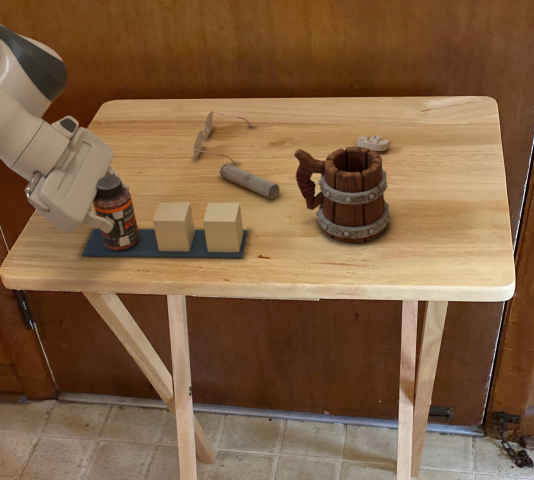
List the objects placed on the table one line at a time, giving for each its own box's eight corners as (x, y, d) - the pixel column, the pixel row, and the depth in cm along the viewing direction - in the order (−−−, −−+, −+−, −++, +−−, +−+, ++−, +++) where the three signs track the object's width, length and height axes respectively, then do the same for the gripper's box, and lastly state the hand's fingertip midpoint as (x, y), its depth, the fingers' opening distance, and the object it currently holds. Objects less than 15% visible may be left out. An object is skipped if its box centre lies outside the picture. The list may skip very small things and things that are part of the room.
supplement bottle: (137, 251, 130) (123, 192, 122) (100, 253, 130) (84, 193, 123) (143, 229, 134) (130, 170, 127) (107, 230, 135) (92, 172, 127)
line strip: (82, 256, 131) (81, 254, 131) (94, 230, 136) (93, 228, 136) (241, 258, 127) (241, 256, 127) (247, 231, 132) (247, 229, 132)
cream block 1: (158, 251, 130) (152, 220, 126) (165, 232, 133) (159, 202, 129) (189, 251, 129) (184, 220, 125) (195, 232, 133) (190, 202, 129)
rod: (280, 194, 140) (279, 181, 138) (269, 202, 138) (268, 188, 136) (231, 173, 146) (229, 160, 144) (220, 180, 145) (218, 167, 143)
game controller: (389, 140, 150) (389, 128, 148) (388, 175, 142) (389, 162, 140) (358, 140, 151) (358, 128, 149) (355, 175, 142) (355, 162, 141)
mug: (390, 248, 126) (374, 165, 117) (302, 252, 131) (280, 172, 121) (400, 205, 134) (387, 124, 125) (317, 210, 139) (298, 133, 130)
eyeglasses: (212, 125, 159) (212, 106, 156) (252, 130, 158) (252, 111, 155) (193, 163, 149) (191, 144, 146) (235, 168, 148) (235, 149, 145)
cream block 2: (207, 252, 129) (203, 221, 124) (213, 233, 132) (208, 202, 128) (239, 252, 128) (235, 221, 124) (243, 233, 132) (239, 202, 127)
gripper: (31, 182, 113) (113, 239, 119) (73, 110, 128) (145, 163, 133) (10, 208, 117) (90, 262, 122) (54, 135, 132) (124, 186, 137)
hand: (119, 210), depth 128 cm, fingers open, 8 cm apart
